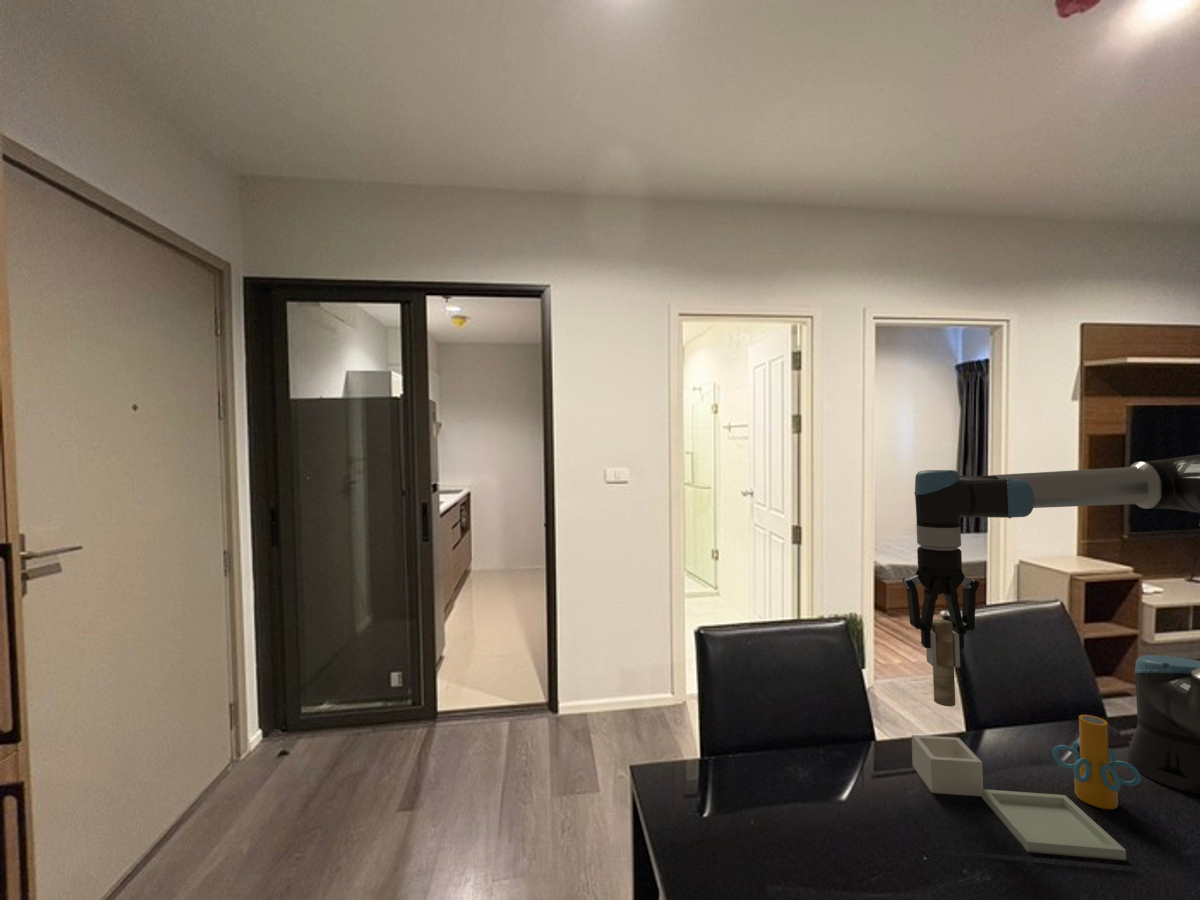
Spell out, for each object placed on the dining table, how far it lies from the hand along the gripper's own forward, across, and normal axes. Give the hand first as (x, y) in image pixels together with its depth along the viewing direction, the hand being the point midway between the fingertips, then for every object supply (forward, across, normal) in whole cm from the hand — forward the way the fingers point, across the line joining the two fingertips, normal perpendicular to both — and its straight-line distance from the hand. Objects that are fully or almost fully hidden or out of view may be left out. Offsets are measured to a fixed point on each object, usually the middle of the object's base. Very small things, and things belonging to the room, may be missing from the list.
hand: (943, 663), depth 107 cm
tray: (+24, -11, +12) cm, 29 cm away
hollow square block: (+24, 0, 0) cm, 24 cm away
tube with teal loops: (+24, -25, +2) cm, 35 cm away
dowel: (+8, 0, 0) cm, 8 cm away
